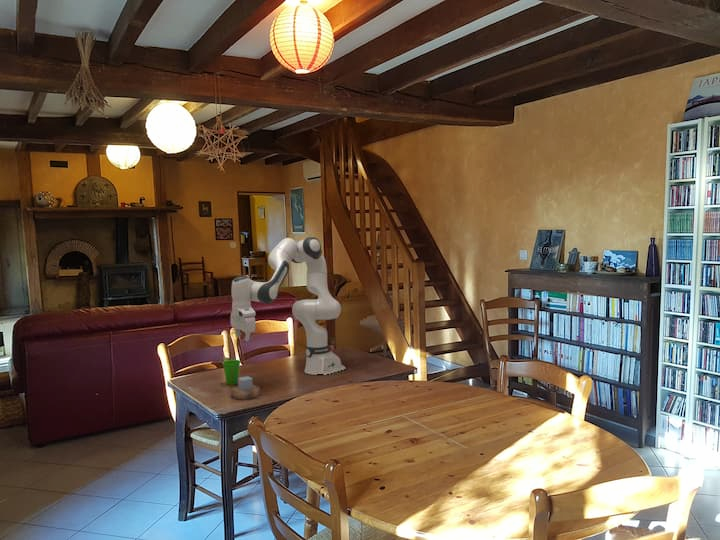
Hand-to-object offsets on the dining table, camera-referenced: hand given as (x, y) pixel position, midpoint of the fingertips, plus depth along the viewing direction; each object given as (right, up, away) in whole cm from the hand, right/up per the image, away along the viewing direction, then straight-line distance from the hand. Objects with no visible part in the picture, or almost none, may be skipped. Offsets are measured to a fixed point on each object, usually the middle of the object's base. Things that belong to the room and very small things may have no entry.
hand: (242, 338), depth 245 cm
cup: (-7, -24, +8) cm, 26 cm away
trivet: (+4, -25, -10) cm, 27 cm away
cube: (+4, -22, -10) cm, 24 cm away
